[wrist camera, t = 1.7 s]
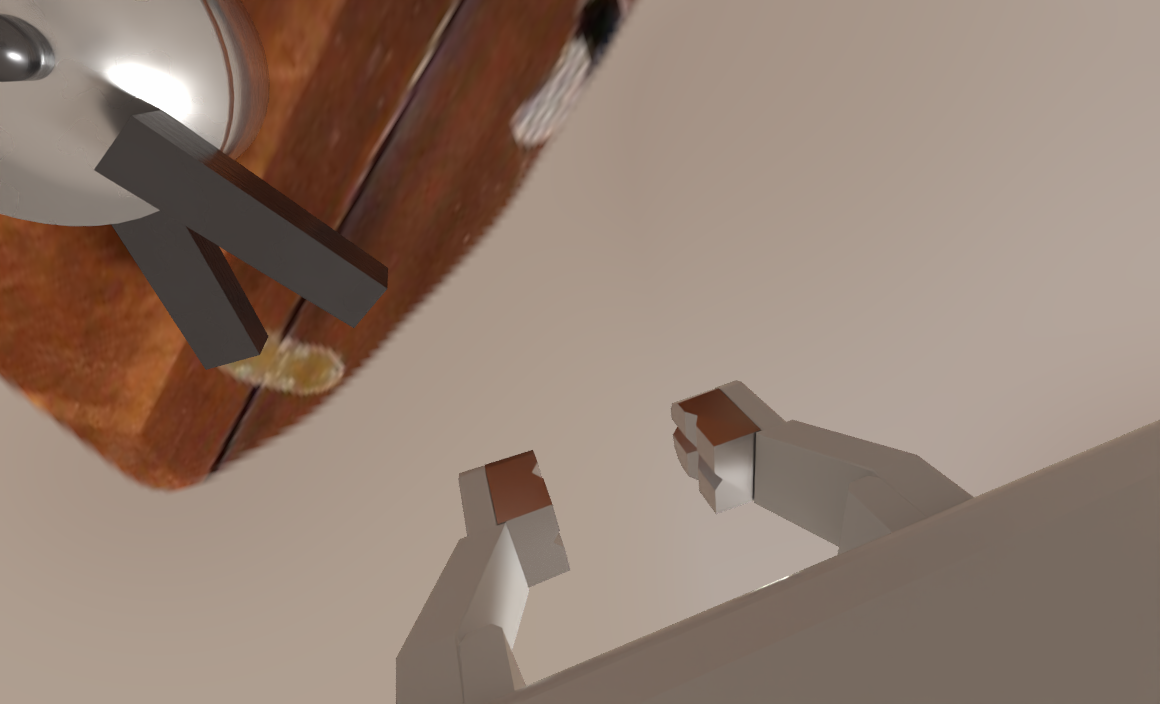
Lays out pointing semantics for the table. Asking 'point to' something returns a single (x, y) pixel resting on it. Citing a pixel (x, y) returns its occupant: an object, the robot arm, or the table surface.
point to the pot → (190, 261)
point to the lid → (152, 141)
